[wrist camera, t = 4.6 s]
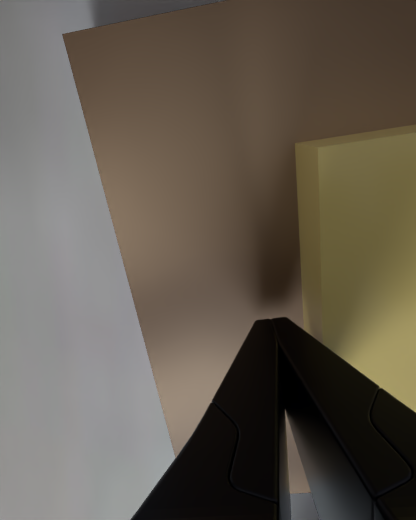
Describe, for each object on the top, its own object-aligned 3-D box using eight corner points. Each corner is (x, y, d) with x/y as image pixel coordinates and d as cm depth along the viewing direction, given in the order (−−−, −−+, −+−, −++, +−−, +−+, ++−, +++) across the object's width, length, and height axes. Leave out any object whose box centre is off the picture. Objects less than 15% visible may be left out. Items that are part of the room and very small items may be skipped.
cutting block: (515, 430, 13) (564, 480, 11) (191, 449, 14) (186, 498, 12) (642, -53, 7) (781, -114, 5) (97, 54, 9) (62, 34, 7)
